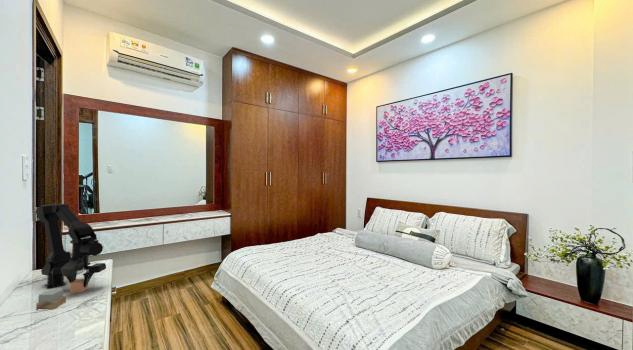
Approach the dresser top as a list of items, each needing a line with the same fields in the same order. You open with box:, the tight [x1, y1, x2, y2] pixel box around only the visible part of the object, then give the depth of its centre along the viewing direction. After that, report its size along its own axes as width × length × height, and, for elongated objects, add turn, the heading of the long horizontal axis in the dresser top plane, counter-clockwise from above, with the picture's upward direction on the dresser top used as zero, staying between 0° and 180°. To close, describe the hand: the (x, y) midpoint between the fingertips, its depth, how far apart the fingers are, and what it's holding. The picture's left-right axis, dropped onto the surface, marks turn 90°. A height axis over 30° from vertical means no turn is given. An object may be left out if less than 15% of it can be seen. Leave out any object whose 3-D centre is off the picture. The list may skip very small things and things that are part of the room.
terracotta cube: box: [69, 278, 89, 294], centre depth 120 cm, size 4×4×4 cm
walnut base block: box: [35, 295, 67, 311], centre depth 106 cm, size 6×6×3 cm
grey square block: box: [37, 288, 64, 303], centre depth 106 cm, size 5×5×3 cm
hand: (79, 287), depth 120 cm, fingers closed on terracotta cube, 4 cm apart
